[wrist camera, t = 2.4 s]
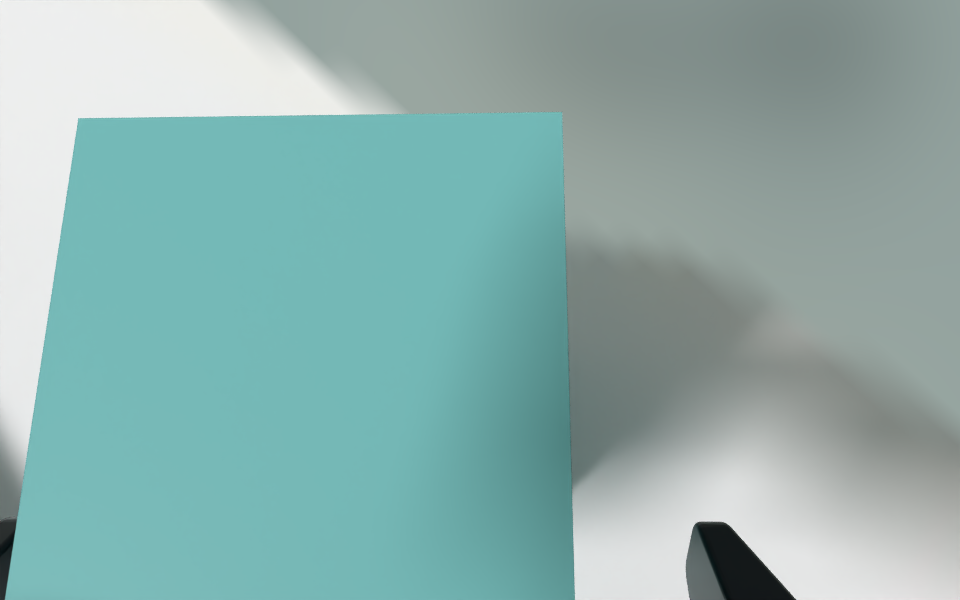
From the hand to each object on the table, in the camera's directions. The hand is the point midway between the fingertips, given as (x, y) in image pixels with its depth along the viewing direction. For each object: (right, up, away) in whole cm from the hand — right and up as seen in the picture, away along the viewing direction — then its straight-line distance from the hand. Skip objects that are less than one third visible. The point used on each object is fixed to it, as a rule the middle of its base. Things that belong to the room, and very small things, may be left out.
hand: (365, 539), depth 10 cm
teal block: (0, 0, +10) cm, 10 cm away
